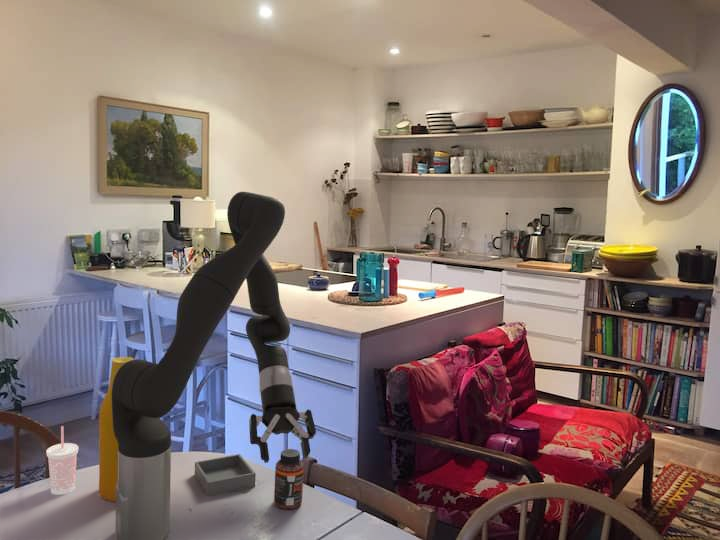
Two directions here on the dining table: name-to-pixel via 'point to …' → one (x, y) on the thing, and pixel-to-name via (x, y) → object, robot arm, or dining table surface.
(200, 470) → the tray
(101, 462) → the yellow bottle
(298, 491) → the supplement bottle
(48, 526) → the dining table surface
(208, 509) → the dining table surface
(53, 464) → the beverage cup
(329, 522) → the dining table surface
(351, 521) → the dining table surface
